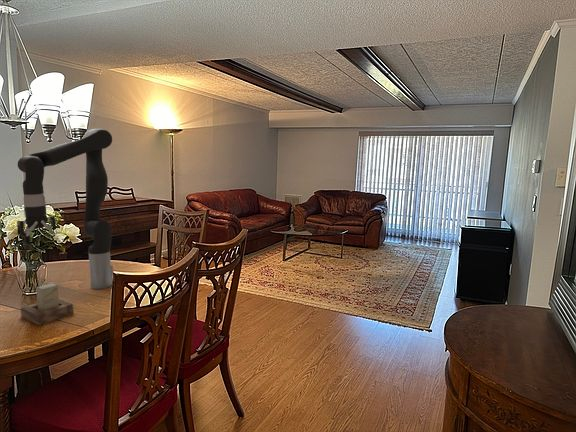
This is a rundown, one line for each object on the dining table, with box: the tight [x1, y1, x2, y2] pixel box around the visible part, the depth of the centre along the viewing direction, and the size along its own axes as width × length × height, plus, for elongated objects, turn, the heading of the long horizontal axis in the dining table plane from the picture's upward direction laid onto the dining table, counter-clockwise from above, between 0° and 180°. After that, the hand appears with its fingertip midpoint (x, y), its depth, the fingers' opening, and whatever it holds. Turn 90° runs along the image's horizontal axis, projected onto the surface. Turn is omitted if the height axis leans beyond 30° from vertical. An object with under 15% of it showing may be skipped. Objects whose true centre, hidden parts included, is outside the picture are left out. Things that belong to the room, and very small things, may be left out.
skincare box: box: [35, 282, 60, 311], centre depth 152 cm, size 6×4×12 cm
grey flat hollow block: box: [20, 298, 74, 326], centre depth 152 cm, size 13×13×4 cm
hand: (38, 242), depth 162 cm, fingers open, 8 cm apart
